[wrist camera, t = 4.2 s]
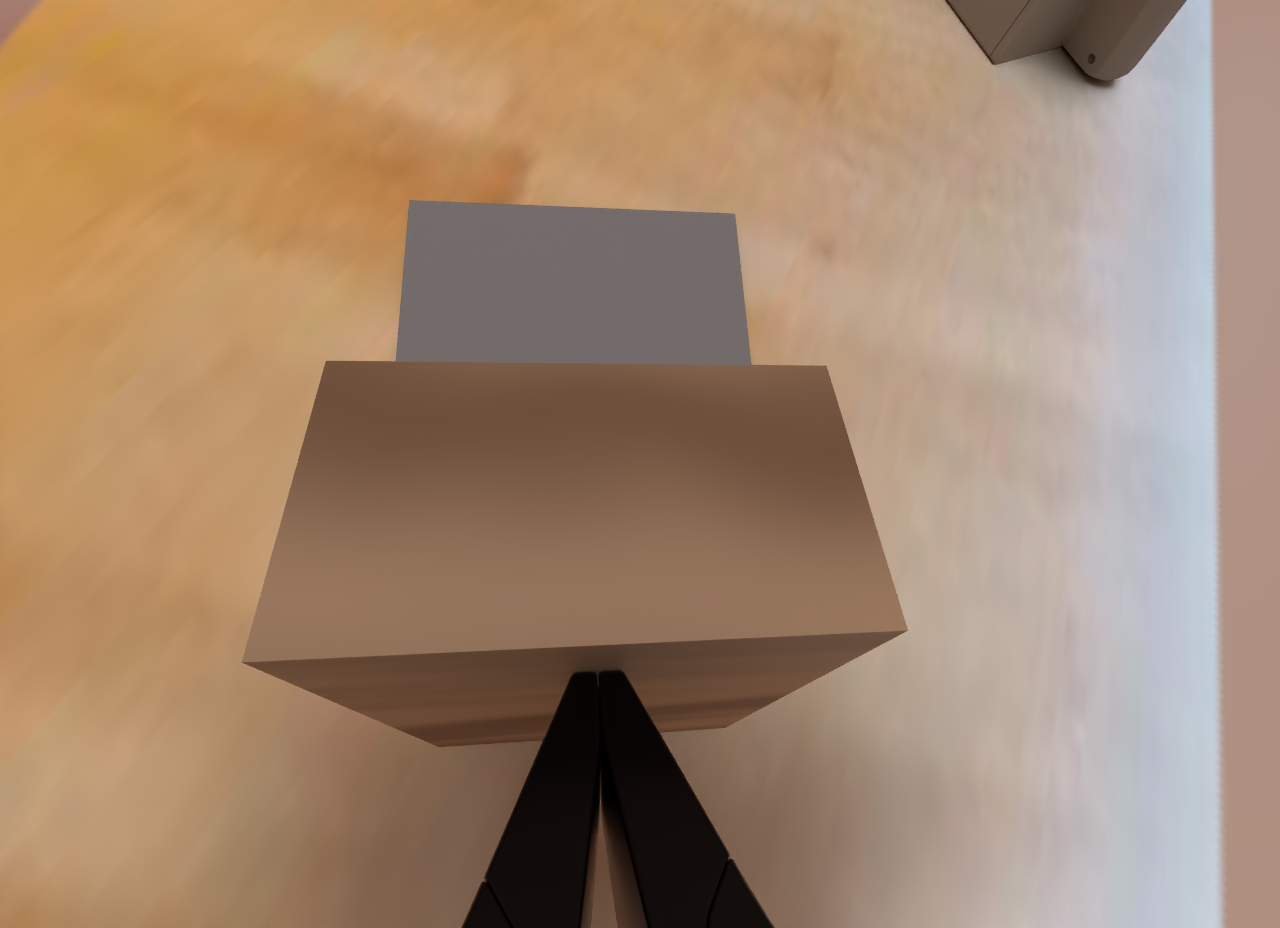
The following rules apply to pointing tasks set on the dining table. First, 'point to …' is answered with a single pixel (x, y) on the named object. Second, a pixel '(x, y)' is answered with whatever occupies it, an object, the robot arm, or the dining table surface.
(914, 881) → the dining table surface
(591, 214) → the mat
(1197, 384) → the dining table surface
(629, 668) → the walnut block
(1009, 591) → the dining table surface
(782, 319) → the dining table surface
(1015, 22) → the digital clock
